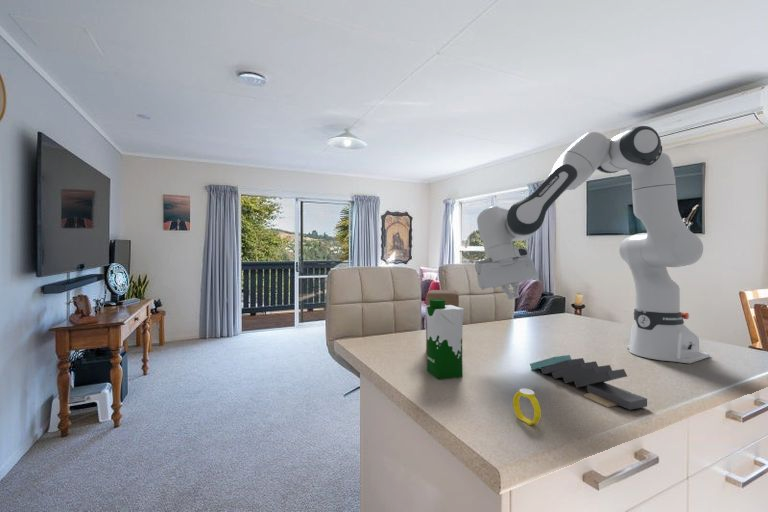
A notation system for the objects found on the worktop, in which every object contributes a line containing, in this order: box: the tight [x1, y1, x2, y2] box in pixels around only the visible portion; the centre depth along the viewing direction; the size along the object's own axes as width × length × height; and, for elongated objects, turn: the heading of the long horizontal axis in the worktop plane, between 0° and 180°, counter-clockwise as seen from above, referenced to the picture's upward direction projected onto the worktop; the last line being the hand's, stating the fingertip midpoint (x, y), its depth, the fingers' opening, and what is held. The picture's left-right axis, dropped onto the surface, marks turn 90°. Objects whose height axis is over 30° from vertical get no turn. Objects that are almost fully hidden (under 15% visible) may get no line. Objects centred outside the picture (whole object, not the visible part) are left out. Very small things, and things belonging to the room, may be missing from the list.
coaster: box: [583, 392, 619, 408], centre depth 79 cm, size 9×6×1 cm, turn 109°
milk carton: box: [425, 299, 465, 380], centre depth 96 cm, size 9×9×20 cm
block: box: [425, 289, 460, 354], centre depth 116 cm, size 10×10×20 cm
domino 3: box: [551, 361, 599, 380], centre depth 89 cm, size 2×5×10 cm
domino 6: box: [586, 382, 648, 411], centre depth 78 cm, size 2×5×10 cm
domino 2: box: [540, 357, 586, 375], centre depth 92 cm, size 2×5×10 cm
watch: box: [512, 388, 542, 426], centre depth 69 cm, size 6×3×6 cm, turn 22°
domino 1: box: [529, 354, 572, 370], centre depth 96 cm, size 2×5×10 cm
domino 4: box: [562, 364, 613, 384], centre depth 85 cm, size 2×5×10 cm
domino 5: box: [573, 368, 628, 388], centre depth 82 cm, size 2×5×10 cm
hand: (514, 298), depth 111 cm, fingers closed
